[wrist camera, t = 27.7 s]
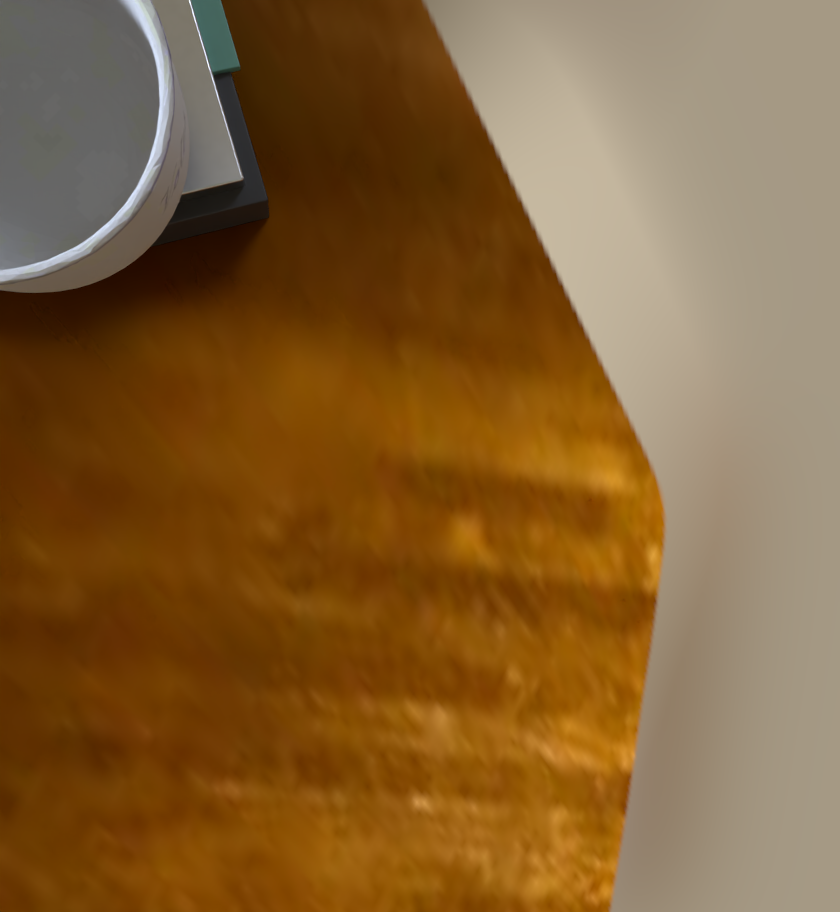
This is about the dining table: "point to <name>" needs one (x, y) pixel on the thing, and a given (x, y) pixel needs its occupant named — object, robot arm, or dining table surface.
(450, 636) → the dining table surface
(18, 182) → the teacup
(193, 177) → the scale
